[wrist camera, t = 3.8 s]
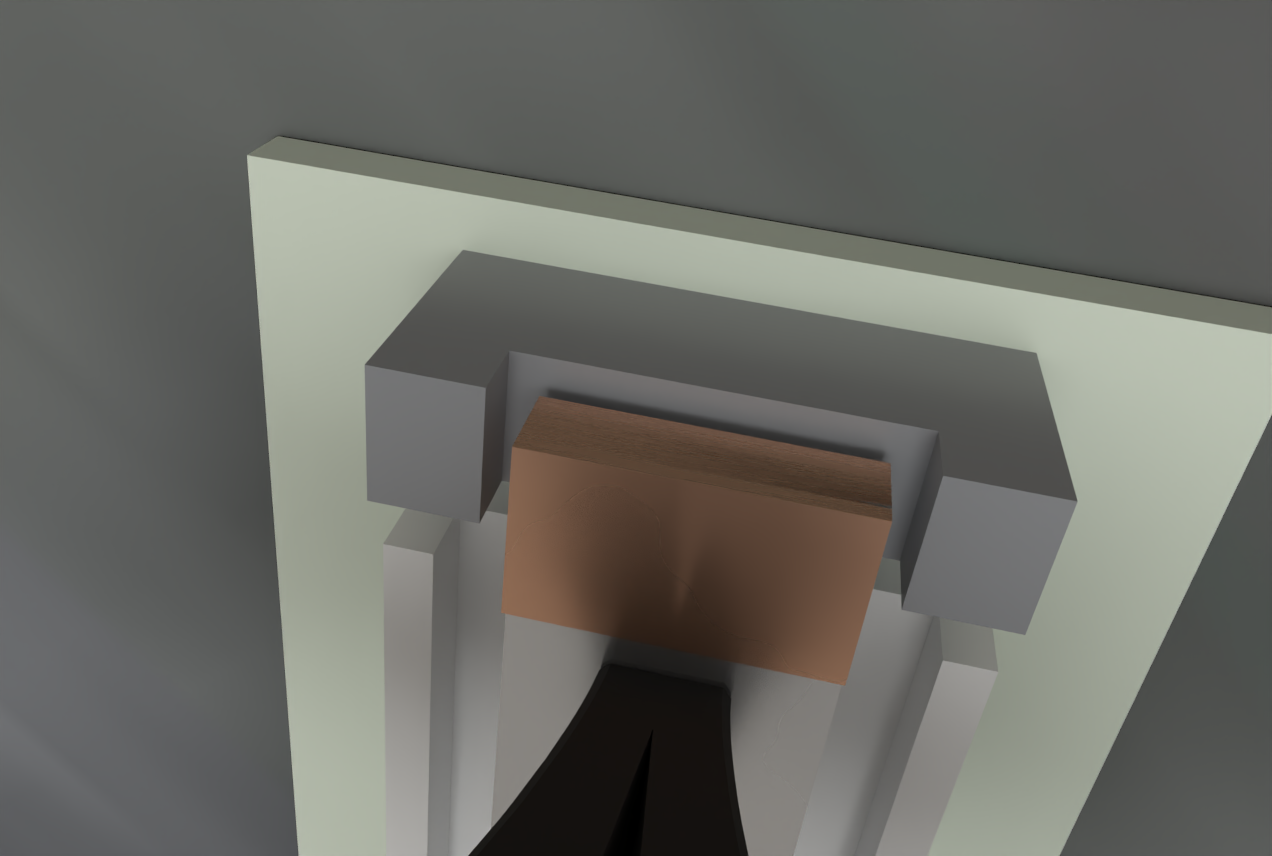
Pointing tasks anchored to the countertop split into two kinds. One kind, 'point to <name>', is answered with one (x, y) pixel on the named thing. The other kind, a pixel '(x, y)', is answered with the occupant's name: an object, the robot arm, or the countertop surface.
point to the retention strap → (686, 588)
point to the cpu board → (1101, 386)
